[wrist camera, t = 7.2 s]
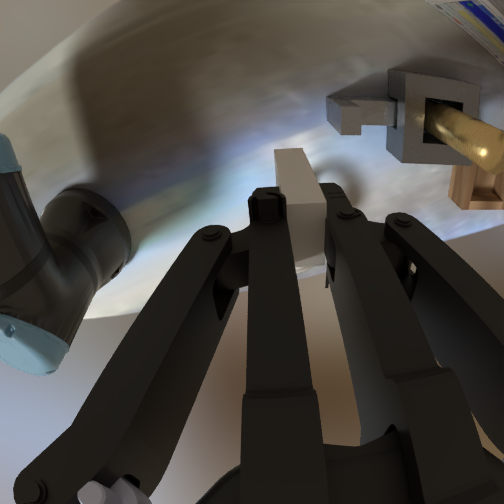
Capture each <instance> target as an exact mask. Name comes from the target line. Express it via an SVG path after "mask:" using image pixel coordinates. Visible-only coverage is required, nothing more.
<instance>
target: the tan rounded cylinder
mask: <svg viewBox="0 0 504 504" xmlns="http://www.w3.org/2000/svg"><path fill="white" fill-rule="evenodd" d="M424 130H425V131H426V132H428V133H430V134H431V135H433V136H435V137H436V138H438V139H440V140H441V141H443V142H444V143H446V144H447V145H449V146H451V147H452V148H454V149H455V150H457V151H458V152H460V153H461V154H463V155H464V156H465V157H467V158H468V159H470V160H471V161H473V162H474V163H475V164H477V165H478V166H480V167H481V168H482V169H484V170H485V171H486V172H488V173H489V174H493V175H496V174H500V173H502V172H503V171H504V132H503V131H501V130H499V129H497V128H495V127H493V126H491V125H489V124H487V123H485V122H483V121H481V120H479V119H477V118H474V117H472V116H470V115H468V114H466V113H463V112H461V111H459V110H456V109H454V108H452V107H449V106H447V105H444V104H442V103H439V102H437V101H434V100H432V99H429V98H426V97H425V114H424Z"/></svg>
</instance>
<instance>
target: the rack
mask: <svg viewBox="0 0 504 504" xmlns="http://www.w3.org/2000/svg"><path fill="white" fill-rule="evenodd" d="M448 197H449V198H450V199H451V200H452V201H453V202H454V203H455V204H456V205H457V206H458V207H459V208H460V209H461V210H504V171H503V172H502V173H500V174H496V175H493V174H489V173H488V172H486V171H485V170H484V169H482V168H481V167H480V166H478V165H477V164H475V163H474V162H473V161H472V166H461V165H453V170H452V176H451V182H450V188H449V193H448Z"/></svg>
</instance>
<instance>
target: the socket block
mask: <svg viewBox="0 0 504 504" xmlns="http://www.w3.org/2000/svg"><path fill="white" fill-rule="evenodd" d="M388 96H391V97H393V98H396V99H398V114H397V126H387V143H386V150H388V151H389V152H390V153H391V154H392V155H393V156H394V157H395V158H397V159H398V160H399V161H400V162H401V163H417V164H443V165H461V166H472V161H471V160H470V159H468V158H467V157H465V156H464V155H463V154H461V153H460V152H458V151H457V150H455V149H454V148H452V147H451V146H449V145H447V144H446V143H444V142H443V141H441V140H440V139H438V138H436V137H435V136H433V135H431V134H430V133H423V130H424V114H425V97H427V98H435V99H442V104H444V105H447V106H449V107H452V108H454V109H456V110H459V111H461V112H463V113H466V114H468V115H470V116H472V117H474V118H477V119H478V112H479V99H480V86H479V85H476V84H472V83H469V82H465V81H461V80H458V79H452V78H447V77H441V76H435V75H429V74H422V73H415V72H407V71H398V70H388Z"/></svg>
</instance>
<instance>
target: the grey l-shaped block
mask: <svg viewBox="0 0 504 504" xmlns="http://www.w3.org/2000/svg"><path fill="white" fill-rule="evenodd" d="M326 103H327V121H328V122H329V123H330V124H331V125H332V126H333V127H334V128H335V129H336V130H337V131H338V132H339V133H340V134H341V135H361V125H384V126H397V114H398V99H386V98H367V97H326Z"/></svg>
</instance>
